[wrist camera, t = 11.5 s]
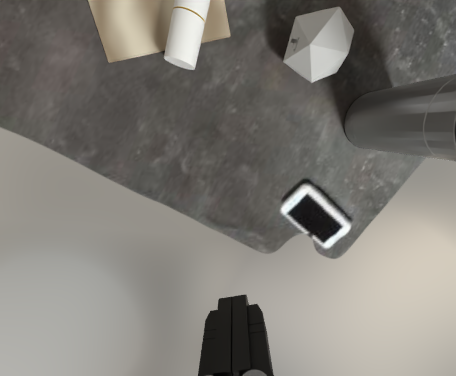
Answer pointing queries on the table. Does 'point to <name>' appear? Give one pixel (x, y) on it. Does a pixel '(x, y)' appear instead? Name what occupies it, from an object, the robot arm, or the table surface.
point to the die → (319, 43)
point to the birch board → (147, 25)
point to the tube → (186, 32)
